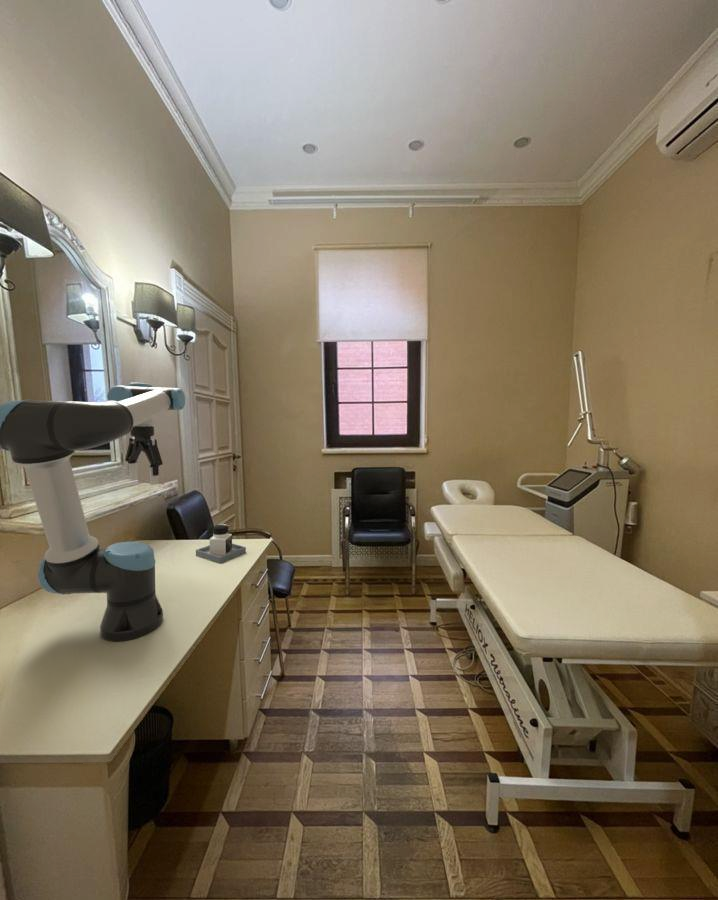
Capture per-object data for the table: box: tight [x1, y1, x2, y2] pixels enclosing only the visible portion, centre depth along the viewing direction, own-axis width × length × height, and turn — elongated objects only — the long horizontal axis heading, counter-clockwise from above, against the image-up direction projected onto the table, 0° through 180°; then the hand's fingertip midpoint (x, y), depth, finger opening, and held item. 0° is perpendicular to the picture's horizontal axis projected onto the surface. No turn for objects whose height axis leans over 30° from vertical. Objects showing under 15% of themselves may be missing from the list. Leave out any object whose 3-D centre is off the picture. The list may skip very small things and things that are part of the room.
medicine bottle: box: [209, 523, 233, 555], centre depth 156 cm, size 7×7×12 cm
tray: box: [195, 542, 247, 564], centre depth 156 cm, size 14×15×2 cm
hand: (144, 482), depth 134 cm, fingers open, 13 cm apart
